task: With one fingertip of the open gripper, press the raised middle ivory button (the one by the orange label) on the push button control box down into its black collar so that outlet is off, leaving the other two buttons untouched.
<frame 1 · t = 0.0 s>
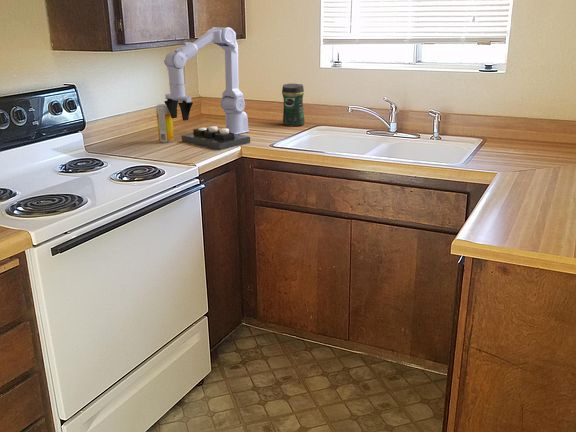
hand: (179, 119, 231), 10 cm above the worktop, tool pointing down, fingers open, 7 cm apart
button 2: (213, 129, 234), point 5 cm above the worktop, slide at 0.0 cm
push button control box: (215, 142, 237), on the worktop
button 3: (224, 131, 230), point 5 cm above the worktop, slide at 0.0 cm
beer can: (166, 141, 240), on the worktop
coffee jar: (293, 125, 268), on the worktop
button 1: (202, 130, 240), point 4 cm above the worktop, slide at 1.4 cm
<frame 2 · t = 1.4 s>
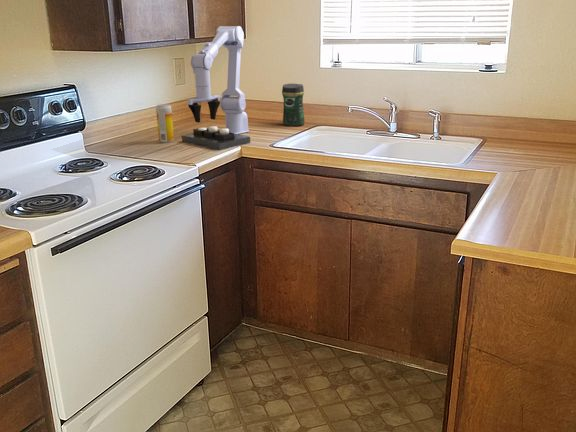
hand: (205, 120, 231), 9 cm above the worktop, tool pointing down, fingers open, 7 cm apart
nothing on the worktop moved.
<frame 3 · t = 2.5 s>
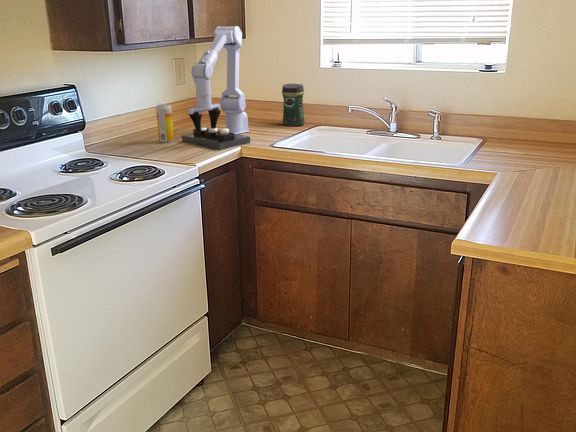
hand: (206, 129, 232), 6 cm above the worktop, tool pointing down, fingers open, 7 cm apart
button 2: (213, 130, 235), point 5 cm above the worktop, slide at 0.5 cm, touching gripper
everything else where it was.
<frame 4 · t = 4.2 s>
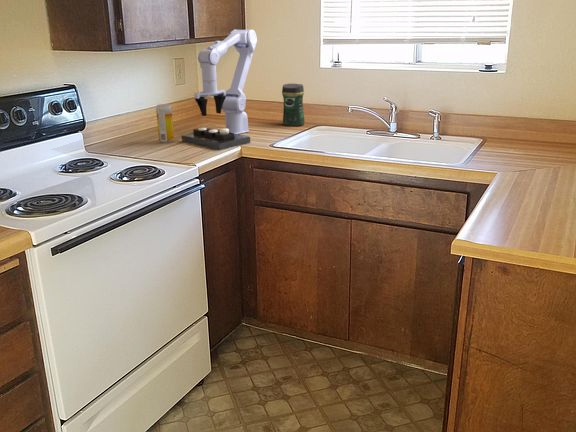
hand: (211, 114, 238), 10 cm above the worktop, tool pointing down, fingers open, 7 cm apart
button 2: (213, 132, 235), point 4 cm above the worktop, slide at 1.3 cm
everything else where it was.
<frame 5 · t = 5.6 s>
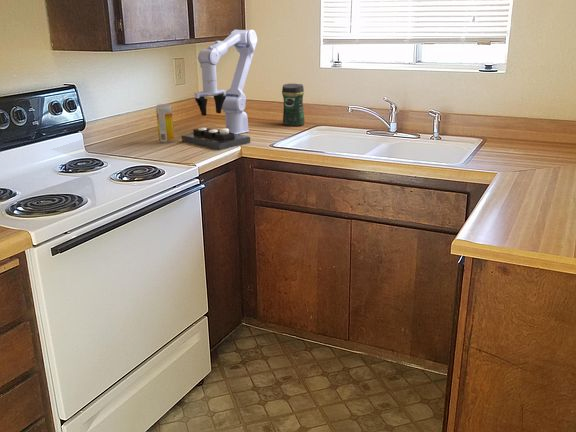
hand: (211, 114, 238), 10 cm above the worktop, tool pointing down, fingers open, 7 cm apart
nothing on the worktop moved.
at the end: button 2 slide at 1.3 cm; button 1 slide at 1.4 cm; button 3 slide at 0.0 cm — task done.
